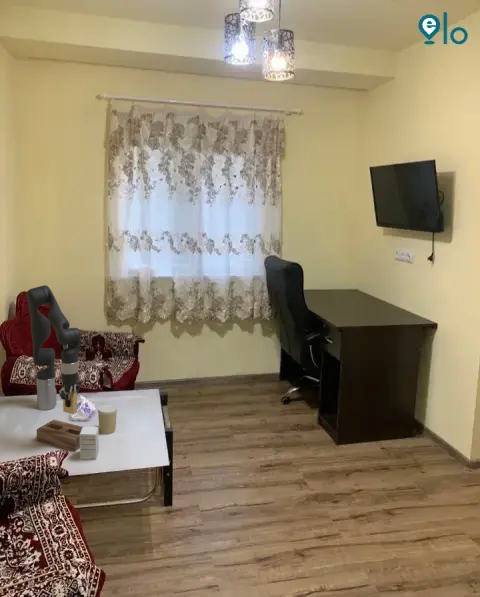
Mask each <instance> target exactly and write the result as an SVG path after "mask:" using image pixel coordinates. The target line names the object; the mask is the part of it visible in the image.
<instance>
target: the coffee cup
mask: <svg viewBox="0 0 480 597" xmlns="http://www.w3.org/2000/svg"><path fill="white" fill-rule="evenodd" d="M97 414H98V416H97V418H98V427H99V433H100V434H103V435H111V434H113V433H115V432H116V426H117V417H118V416H117V414H118V408H117V406H115V405H112V404H111V405H110V404H105V405H101V406H99V407H98V409H97Z"/></svg>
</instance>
